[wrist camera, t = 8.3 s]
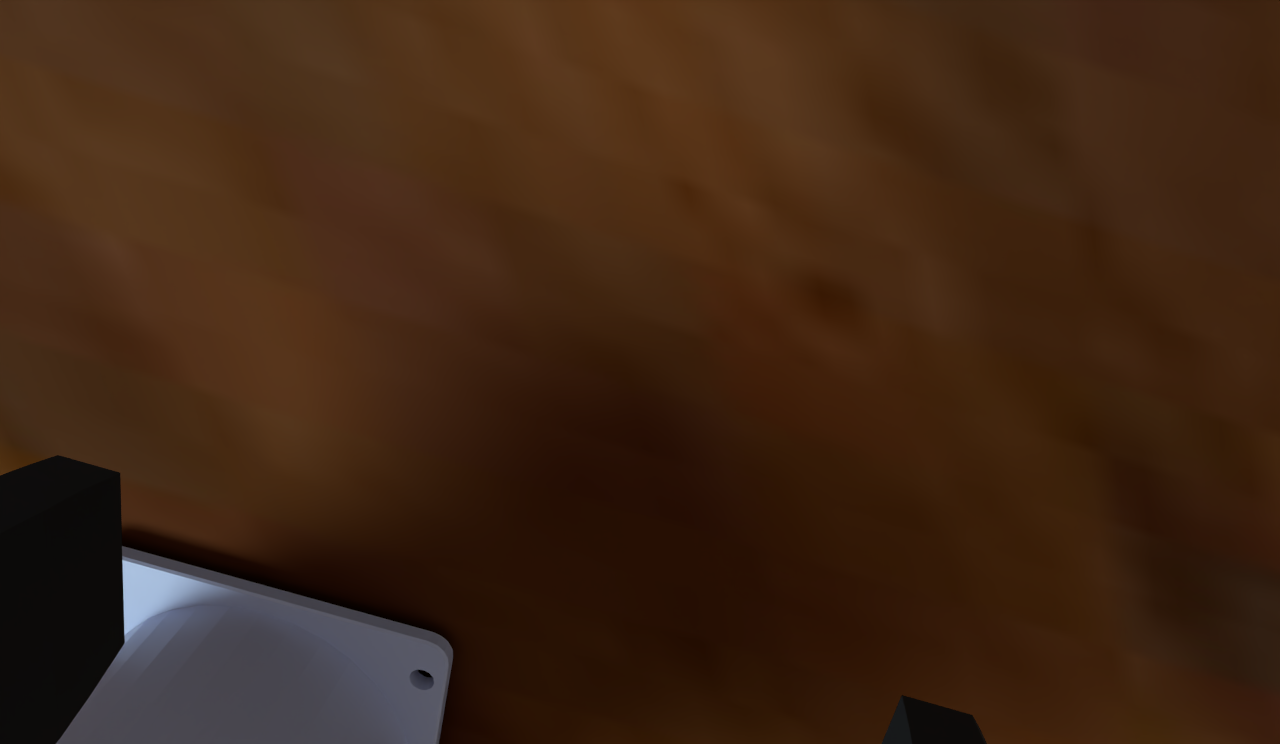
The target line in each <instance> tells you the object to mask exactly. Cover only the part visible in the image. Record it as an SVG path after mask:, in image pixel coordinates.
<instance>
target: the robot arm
mask: <svg viewBox="0 0 1280 744" xmlns="http://www.w3.org/2000/svg"><path fill="white" fill-rule="evenodd" d="M452 661H453V649H452V647H451V646H450V644H449V642H448V641H447V640H446V639H445V638H444V637H442V636H441V635H439V634H436V633H434V632H431V631H428V630H424V629H421V628H417V627H413V626H410V625H406V624H403V623H399V622H395V621H392V620H388V619H384V618H381V617H377V616H374V615H370V614H366V613H363V612H359V611H356V610H352V609H348V608H345V607H341V606H337V605H334V604H330V603H327V602H323V601H319V600H316V599H312V598H309V597H305V596H301V595H298V594H294V593H290V592H287V591H283V590H280V589H276V588H272V587H269V586H265V585H262V584H258V583H254V582H251V581H247V580H244V579H240V578H236V577H233V576H229V575H225V574H222V573H218V572H215V571H211V570H207V569H204V568H200V567H197V566H193V565H189V564H186V563H182V562H178V561H175V560H171V559H168V558H164V557H160V556H157V555H153V554H150V553H146V552H142V551H139V550H135V549H131V548H128V547H124V546H122V526H121V489H120V473H119V472H115V471H112V470H108V469H105V468H101V467H98V466H94V465H91V464H87V463H84V462H80V461H77V460H73V459H70V458H66V457H62V456H59V455H57V456H54V457H51V458H48V459H45V460H42V461H39V462H36V463H33V464H30V465H28V466H25V467H22V468H19V469H17V470H14V471H11V472H9V473H6V474H3V475H1V476H0V744H439V740H440V734H441V728H442V722H443V716H444V710H445V704H446V698H447V692H448V685H449V679H450V673H451V667H452ZM418 670H424V671H426V672H428V673H430V675H431V676H432V677H433V678H432V677H425V676H423V675H421V674H420V673H419V672H418ZM882 744H987V743H986V741H985V739H984V737H983V734H982V732H981V730H980V728H979V726H978V724H977V723H976V721H975V719H974V717H973V716H972V715H970V714H966V713H963V712H959V711H956V710H952V709H949V708H945V707H942V706H938V705H935V704H931V703H928V702H924V701H921V700H917V699H914V698H910V697H907V696H903V695H902V696H901V699H900V701H899V703H898V706H897V708H896V711H895V713H894V715H893V718H892V720H891V723H890V725H889V727H888V730H887V732H886V735H885V737H884V740H883V742H882Z"/></svg>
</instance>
